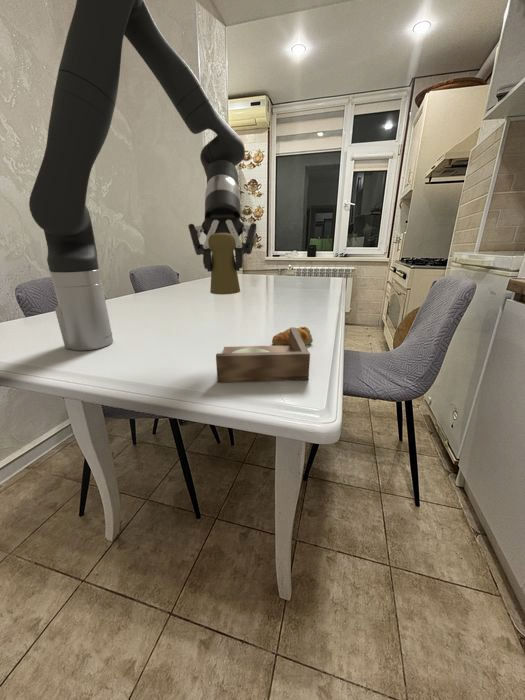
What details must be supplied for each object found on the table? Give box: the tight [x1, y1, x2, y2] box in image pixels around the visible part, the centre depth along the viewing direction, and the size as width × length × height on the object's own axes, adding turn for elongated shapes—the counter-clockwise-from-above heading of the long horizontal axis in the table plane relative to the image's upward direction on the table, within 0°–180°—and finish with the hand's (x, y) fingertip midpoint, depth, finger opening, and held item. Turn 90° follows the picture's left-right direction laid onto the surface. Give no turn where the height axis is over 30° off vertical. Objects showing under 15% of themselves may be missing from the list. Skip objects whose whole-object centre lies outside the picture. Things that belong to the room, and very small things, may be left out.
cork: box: [208, 233, 241, 296], centre depth 56 cm, size 6×6×11 cm
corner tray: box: [215, 327, 311, 384], centre depth 57 cm, size 16×16×5 cm
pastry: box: [271, 326, 314, 346], centre depth 69 cm, size 9×7×4 cm
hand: (223, 268), depth 55 cm, fingers closed on cork, 4 cm apart
